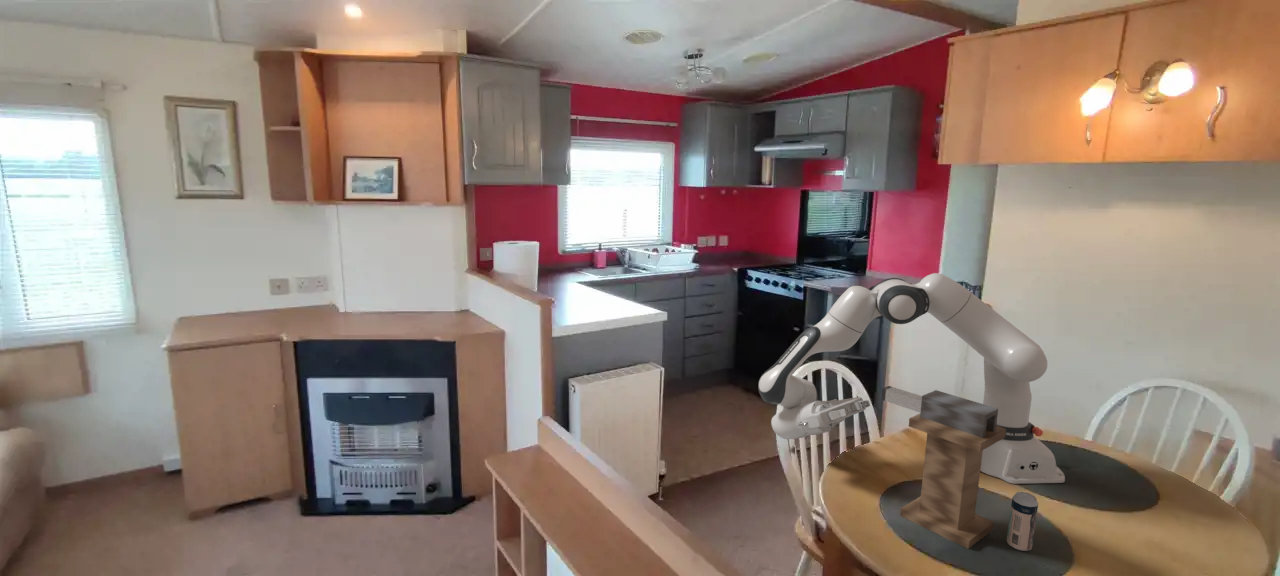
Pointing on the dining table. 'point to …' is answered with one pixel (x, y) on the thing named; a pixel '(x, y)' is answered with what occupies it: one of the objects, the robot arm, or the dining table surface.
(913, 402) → the spindle bar
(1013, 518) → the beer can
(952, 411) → the stand
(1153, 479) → the dining table surface
